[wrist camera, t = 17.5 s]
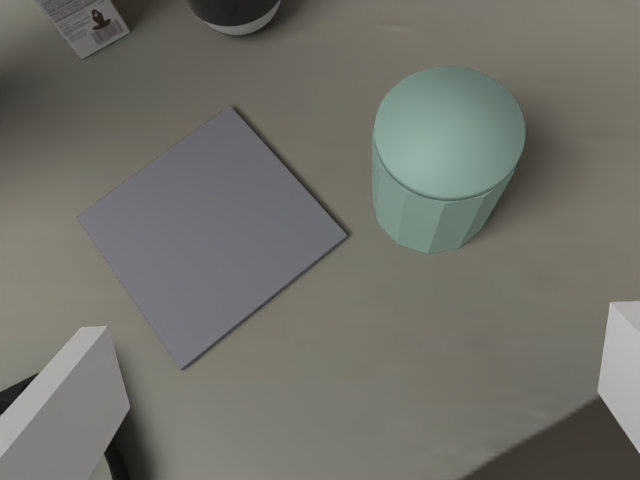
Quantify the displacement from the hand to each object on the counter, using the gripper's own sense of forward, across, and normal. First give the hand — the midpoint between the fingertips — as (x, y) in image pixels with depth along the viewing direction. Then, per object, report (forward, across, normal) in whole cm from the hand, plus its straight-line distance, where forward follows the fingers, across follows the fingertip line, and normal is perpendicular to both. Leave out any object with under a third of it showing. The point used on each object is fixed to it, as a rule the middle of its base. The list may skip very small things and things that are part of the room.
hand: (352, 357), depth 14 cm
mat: (+32, -13, -8) cm, 35 cm away
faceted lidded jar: (+33, +7, -7) cm, 34 cm away
